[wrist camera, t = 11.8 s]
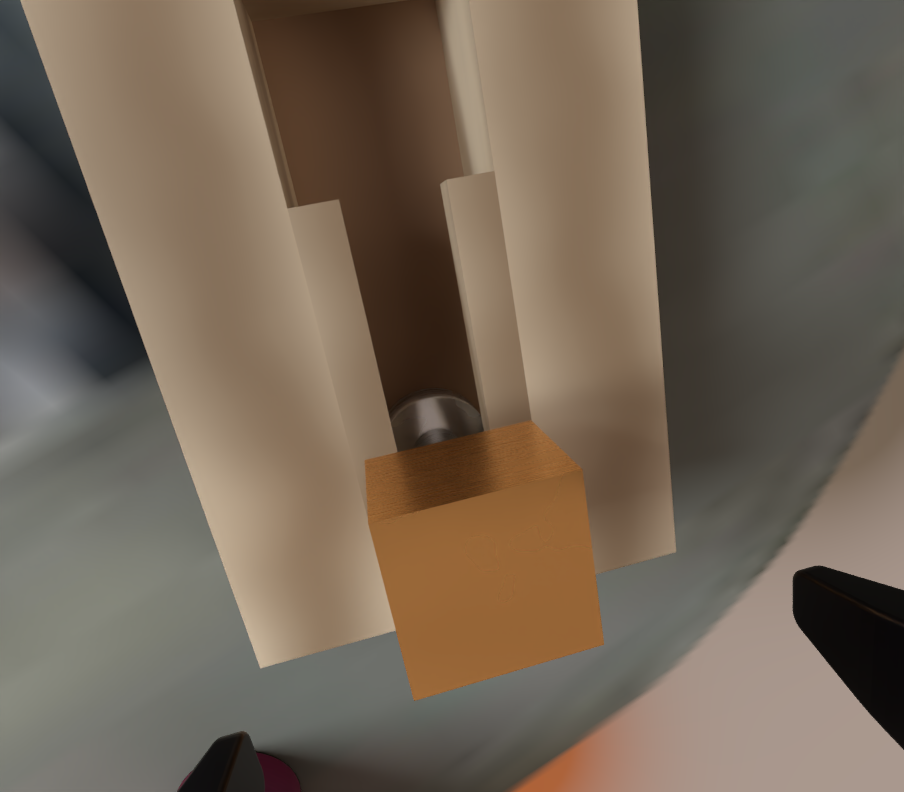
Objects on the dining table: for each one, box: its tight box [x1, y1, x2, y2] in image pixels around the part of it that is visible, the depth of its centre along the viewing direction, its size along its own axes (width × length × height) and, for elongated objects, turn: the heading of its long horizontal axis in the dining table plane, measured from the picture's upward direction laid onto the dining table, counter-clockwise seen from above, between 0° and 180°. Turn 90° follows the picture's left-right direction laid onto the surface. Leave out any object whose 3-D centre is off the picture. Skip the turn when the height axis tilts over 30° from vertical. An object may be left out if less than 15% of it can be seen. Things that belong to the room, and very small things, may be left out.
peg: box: [365, 388, 604, 701], centre depth 14 cm, size 4×4×8 cm
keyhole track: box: [20, 0, 676, 668], centre depth 16 cm, size 13×20×5 cm, turn 10°
